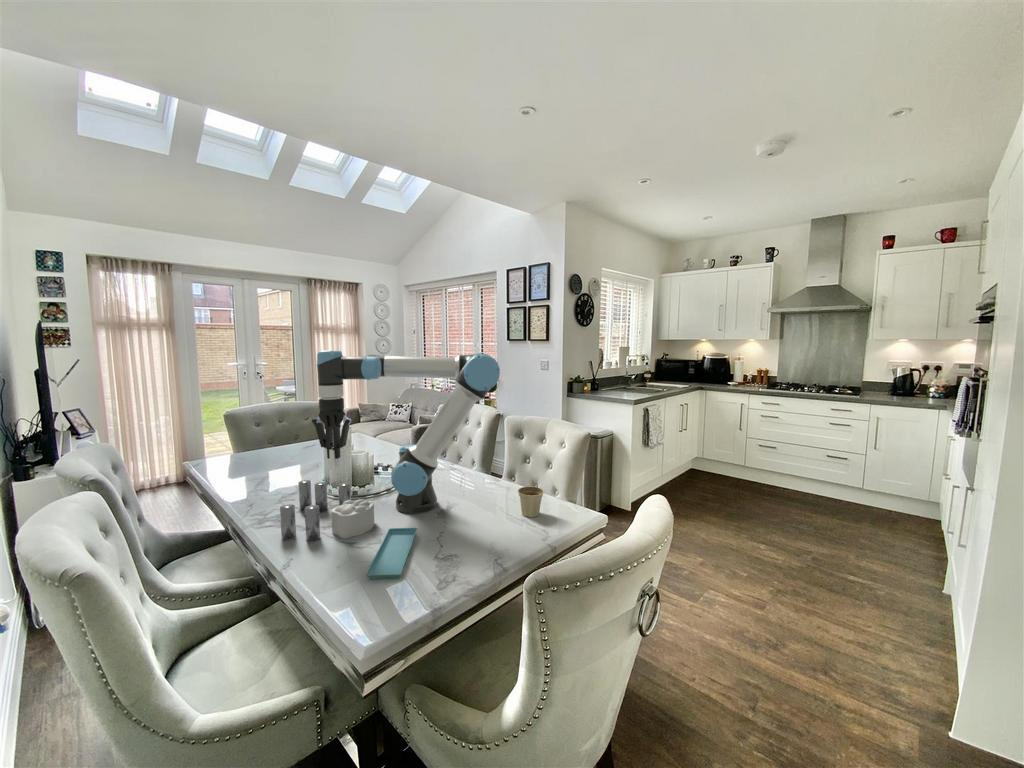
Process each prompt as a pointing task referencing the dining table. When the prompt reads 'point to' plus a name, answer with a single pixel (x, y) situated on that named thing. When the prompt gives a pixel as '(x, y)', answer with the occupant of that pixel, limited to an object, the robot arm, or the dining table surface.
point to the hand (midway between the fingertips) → (334, 467)
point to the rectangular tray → (392, 554)
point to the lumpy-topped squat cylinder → (352, 518)
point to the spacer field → (310, 509)
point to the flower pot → (530, 500)
